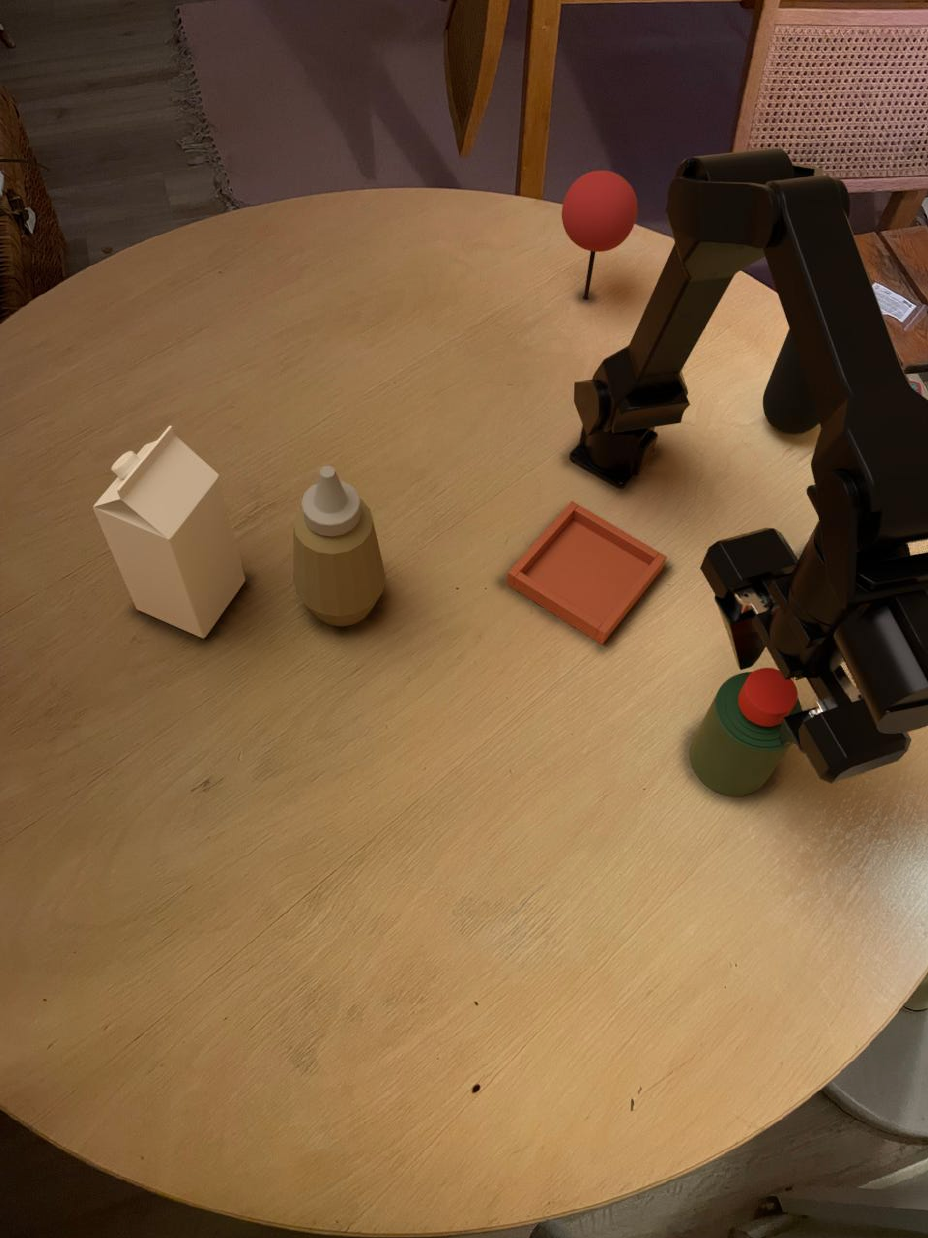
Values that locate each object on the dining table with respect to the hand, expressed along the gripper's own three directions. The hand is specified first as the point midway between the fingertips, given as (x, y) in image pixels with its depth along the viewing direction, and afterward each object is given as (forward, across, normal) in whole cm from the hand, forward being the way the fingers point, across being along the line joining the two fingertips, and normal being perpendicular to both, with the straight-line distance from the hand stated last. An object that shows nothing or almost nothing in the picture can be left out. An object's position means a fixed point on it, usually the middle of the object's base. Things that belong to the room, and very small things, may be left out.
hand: (765, 703), depth 79 cm
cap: (-2, 0, 0) cm, 2 cm away
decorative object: (+10, +32, -23) cm, 41 cm away
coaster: (+10, +21, +4) cm, 24 cm away
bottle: (+10, 0, 0) cm, 10 cm away
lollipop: (+10, +56, -10) cm, 58 cm away
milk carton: (+10, +30, +39) cm, 51 cm away
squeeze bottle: (+10, +26, +27) cm, 38 cm away
